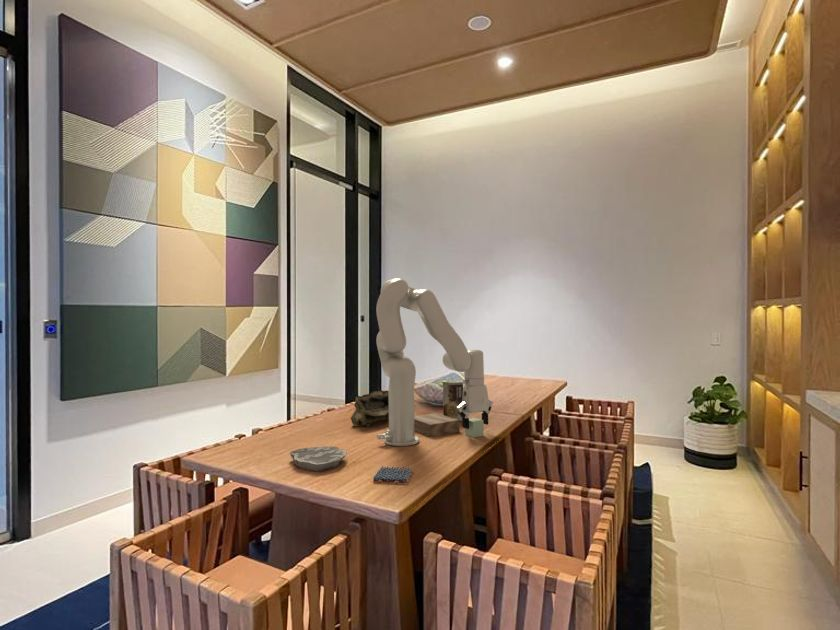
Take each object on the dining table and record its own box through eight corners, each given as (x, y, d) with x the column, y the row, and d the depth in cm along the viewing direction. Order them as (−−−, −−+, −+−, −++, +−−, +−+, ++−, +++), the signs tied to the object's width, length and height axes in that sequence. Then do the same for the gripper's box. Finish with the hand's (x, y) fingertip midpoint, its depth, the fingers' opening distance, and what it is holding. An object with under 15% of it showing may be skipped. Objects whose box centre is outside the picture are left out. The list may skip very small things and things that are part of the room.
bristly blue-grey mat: (371, 485, 136) (371, 477, 136) (380, 472, 147) (380, 465, 147) (407, 486, 134) (407, 479, 134) (414, 473, 145) (414, 467, 145)
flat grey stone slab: (359, 463, 154) (359, 454, 154) (313, 477, 142) (313, 466, 142) (325, 451, 168) (325, 442, 168) (280, 462, 156) (280, 453, 156)
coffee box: (464, 418, 217) (463, 382, 217) (463, 421, 211) (463, 384, 211) (443, 417, 218) (443, 381, 218) (442, 421, 212) (442, 384, 212)
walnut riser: (430, 437, 186) (430, 424, 186) (408, 429, 199) (408, 417, 199) (459, 432, 193) (459, 419, 193) (436, 424, 207) (436, 412, 207)
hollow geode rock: (396, 426, 223) (380, 400, 230) (412, 409, 218) (395, 383, 224) (352, 436, 202) (335, 407, 208) (368, 418, 196) (350, 389, 203)
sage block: (473, 437, 184) (473, 421, 184) (465, 434, 188) (465, 419, 188) (483, 435, 187) (483, 420, 187) (475, 432, 191) (475, 417, 191)
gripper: (463, 385, 179) (464, 431, 180) (497, 380, 189) (498, 424, 189) (450, 383, 186) (452, 427, 186) (484, 378, 195) (486, 420, 195)
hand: (475, 426), depth 188 cm, fingers open, 9 cm apart
